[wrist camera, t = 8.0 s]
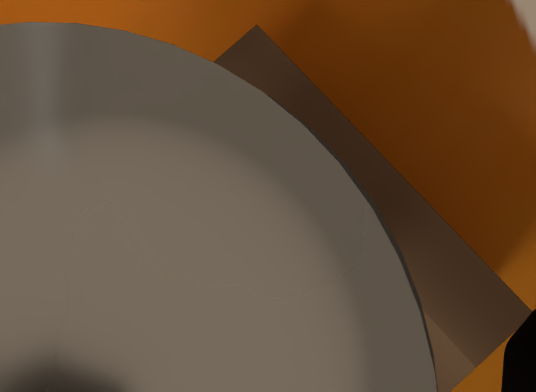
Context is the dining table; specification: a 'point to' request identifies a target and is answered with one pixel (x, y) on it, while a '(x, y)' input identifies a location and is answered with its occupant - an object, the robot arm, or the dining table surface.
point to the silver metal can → (184, 232)
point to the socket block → (398, 220)
